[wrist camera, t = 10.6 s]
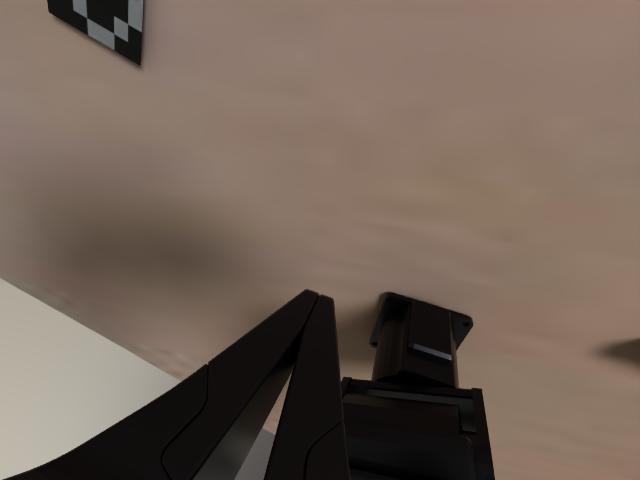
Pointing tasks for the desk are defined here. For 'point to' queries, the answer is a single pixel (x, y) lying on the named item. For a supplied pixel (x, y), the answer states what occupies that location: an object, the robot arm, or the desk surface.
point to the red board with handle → (105, 22)
